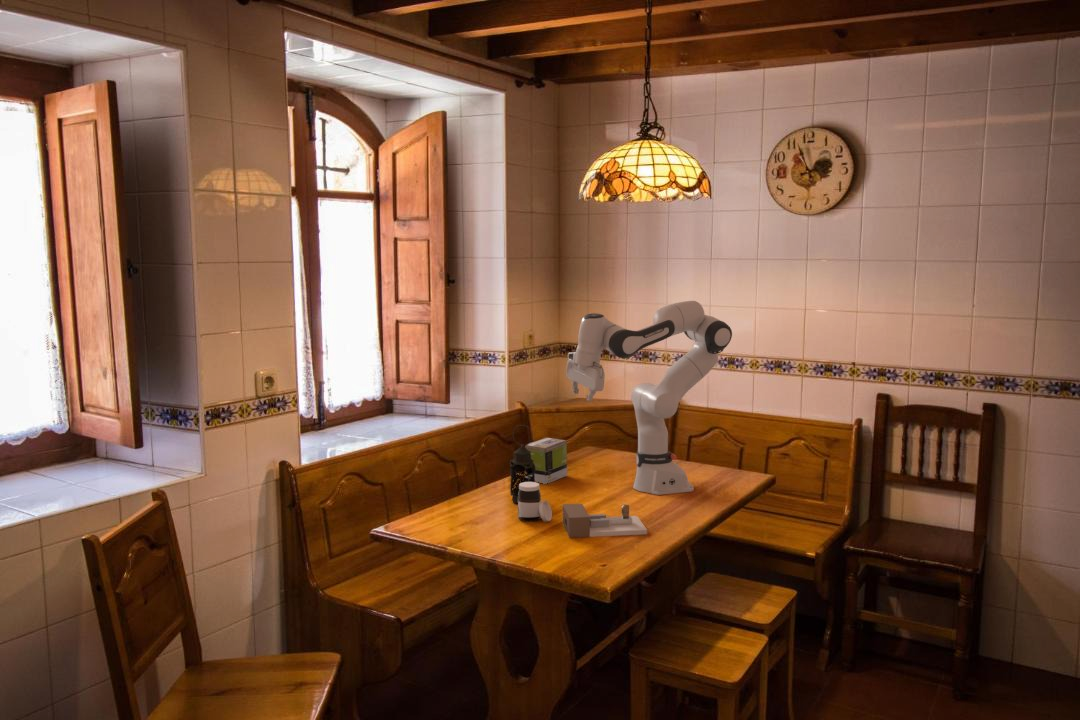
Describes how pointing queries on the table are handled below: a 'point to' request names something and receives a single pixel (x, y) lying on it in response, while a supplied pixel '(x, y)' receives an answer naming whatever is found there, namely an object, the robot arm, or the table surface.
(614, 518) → the bolt
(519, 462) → the lantern
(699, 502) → the table surface
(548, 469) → the tea box
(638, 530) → the door plate
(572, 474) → the table surface
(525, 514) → the spread jar
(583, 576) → the table surface
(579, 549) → the table surface
